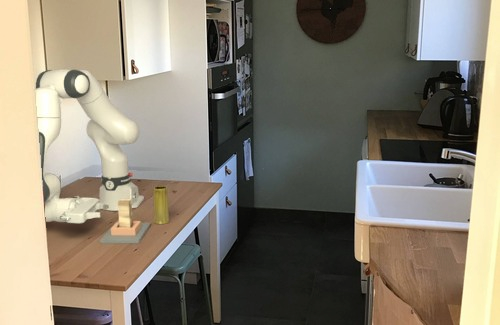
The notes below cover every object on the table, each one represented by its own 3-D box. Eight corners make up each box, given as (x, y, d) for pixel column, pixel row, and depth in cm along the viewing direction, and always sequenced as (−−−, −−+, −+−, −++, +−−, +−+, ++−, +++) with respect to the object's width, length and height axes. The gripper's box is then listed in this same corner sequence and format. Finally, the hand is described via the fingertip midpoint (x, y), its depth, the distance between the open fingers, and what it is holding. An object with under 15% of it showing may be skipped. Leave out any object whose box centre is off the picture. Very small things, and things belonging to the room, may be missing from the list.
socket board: (115, 224, 220) (115, 216, 219) (150, 225, 219) (150, 216, 219) (100, 243, 201) (99, 233, 200) (138, 243, 200) (138, 234, 199)
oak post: (122, 229, 212) (120, 198, 209) (133, 229, 212) (131, 198, 209) (119, 232, 208) (117, 202, 205) (130, 233, 208) (128, 202, 205)
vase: (169, 219, 227) (167, 185, 223) (169, 223, 221) (168, 189, 217) (154, 220, 226) (152, 185, 222) (154, 224, 220) (152, 189, 216)
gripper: (56, 210, 198) (95, 210, 198) (76, 194, 218) (111, 195, 218) (58, 227, 200) (96, 227, 199) (77, 210, 220) (112, 210, 219)
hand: (104, 210), depth 208 cm, fingers open, 8 cm apart
